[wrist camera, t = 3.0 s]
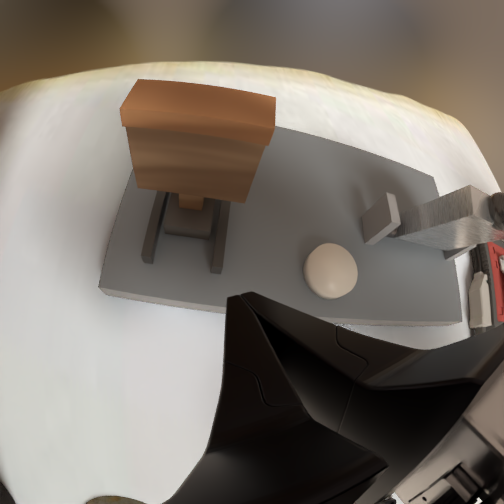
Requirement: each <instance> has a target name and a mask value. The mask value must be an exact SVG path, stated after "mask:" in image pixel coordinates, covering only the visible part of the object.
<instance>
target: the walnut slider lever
mask: <svg viewBox="0 0 504 504" xmlns="http://www.w3.org/2000/svg"><path fill="white" fill-rule="evenodd" d="M275 110H276V97H272V96H267V95H262V94H258V93H253V92H247V91H242V90H236V89H230V88H224V87H218V86H211V85H203V84H195V83H186V82H175V81H162V80H144V79H138V80H137V82H136V83H135V85H134V86H133V88H132V89H131V91H130V92H129V94H128V96H127V97H126V99H125V101H124V102H123V104H122V106H121V107H120V115H121V121H122V126H124V127H126V132H127V137H128V143H129V148H130V154H131V159H132V164H133V169H134V174H135V178H136V183H137V187H138V188H141V189H149V190H156V191H164V192H171V196H170V200H169V204H168V208H167V212H166V216H165V221H164V231H165V234H171V235H178V236H185V237H191V238H198V239H205V240H209V236H210V230H211V223H212V217H213V211H214V204H215V199H219V200H226V201H232V202H238V203H244V204H245V202H246V199H247V196H248V193H249V190H250V187H251V185H252V182H253V179H254V176H255V174H256V171H257V168H258V165H259V162H260V160H261V157H262V154H263V151H264V149H265V146H269V144H270V141H271V138H272V136H273V133H274V130H275Z"/></svg>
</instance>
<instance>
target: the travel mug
mask: <svg viewBox="0 0 504 504" xmlns="http://www.w3.org/2000/svg"><path fill="white" fill-rule="evenodd" d="M0 504H15V502H14V501H13V499H12V497H11V496H10V494H9V493H8V492H7V490H6V489H5V488H4V486H3V485H2V484H1V483H0Z"/></svg>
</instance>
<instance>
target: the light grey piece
mask: <svg viewBox="0 0 504 504" xmlns="http://www.w3.org/2000/svg"><path fill="white" fill-rule="evenodd" d="M399 217H400V223H401V225H399V226H398V227H397V228H395V229H394V230H393V231H392V232H390V233H389V234H388V235H386V236H385V237H389V238H394V239H398V240H403V241H407V242H411V243H416V244H420V245H424V246H428V247H432V248H436V249H440V250H444V251H451V250H452V249H457V248H462V247H467V246H472V245H477V244H481V243H486V242H491V241H496V240H500V239H504V193H501V192H498V193H495V194H493V195H491V196H489V195H488V194H486V193H484V192H482V191H481V190H479V189H477V188H475V187H473V186H471V185H468V186H466V187H464V188H461V189H459V190H456V191H454V192H451V193H449V194H446V195H444V196H442V197H439V198H437V199H434V200H432V201H429V202H427V203H424V204H422V205H419V206H417V207H414V208H412V209H409V210H407V211H404V212H402V213H399Z"/></svg>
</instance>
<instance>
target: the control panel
mask: <svg viewBox="0 0 504 504" xmlns="http://www.w3.org/2000/svg"><path fill="white" fill-rule="evenodd" d="M170 196H171V192H164V191H156V190H149V189H141V188H138V187H137V183H136V178H135V174H134V169H133V170H132V173H131V175H130V178H129V181H128V184H127V187H126V189H125V192H124V195H123V198H122V201H121V204H120V207H119V211H118V214H117V217H116V220H115V224H114V227H113V230H112V234H111V237H110V241H109V245H108V248H107V252H106V256H105V260H104V264H103V268H102V273H101V277H100V281H99V286H98V287H99V288H100V289H101V290H102V291H103V292H104V293H105V294H106V295H109V296H115V297H120V298H125V299H131V300H137V301H142V302H148V303H154V304H160V305H167V306H173V307H180V308H186V309H193V310H201V311H208V312H216V313H224V314H226V302H227V297H230V296H234V295H240V294H242V293H246V292H250V291H253V292H255V293H258V294H260V295H263V296H265V297H267V298H270V299H272V300H275V301H277V302H279V303H282V304H284V305H287V306H289V307H292V308H294V309H297V310H299V311H302V312H304V313H307V314H309V315H312V316H314V317H317V318H319V319H322V320H324V321H327V322H329V323H334V324H354V325H380V326H449V325H452V324H456V323H459V322H462V311H461V302H460V293H459V285H458V279H457V272H456V266H455V261H454V259H455V258H457V257H459V256H461V255H462V254H464V253H466V252H468V251H469V250H471V249H473V248H475V247H476V245H472V246H467V247H462V248H457V249H452V250H451V251H444V250H440V249H436V248H432V247H428V246H424V245H420V244H416V243H411V242H407V241H403V240H398V239H394V238H389V237H385V236H386V235H388V234H389V233H390V232H392V231H393V230H394V229H395V228H397V227H398V226H399V225H401V223H400V217H399V213H402V212H404V211H407V210H409V209H412V208H414V207H417V206H419V205H422V204H424V203H427V202H429V201H432V200H434V199H437V198H439V194H438V190H437V187H436V184H435V181H434V178H433V177H432V176H430V175H427V174H425V173H423V172H420V171H418V170H415V169H413V168H411V167H408V166H405V165H403V164H400V163H398V162H395V161H392V160H390V159H387V158H384V157H381V156H379V155H376V154H373V153H370V152H367V151H364V150H361V149H358V148H355V147H352V146H349V145H345V144H342V143H339V142H335V141H332V140H328V139H325V138H321V137H318V136H314V135H310V134H307V133H303V132H299V131H295V130H290V129H286V128H282V127H278V126H275V130H274V133H273V136H272V138H271V141H270V144H269V146H265V149H264V151H263V154H262V157H261V160H260V162H259V165H258V168H257V171H256V174H255V176H254V179H253V182H252V185H251V187H250V190H249V193H248V196H247V199H246V202H245V204H244V203H238V202H232V201H226V200H219V199H215V204H214V211H213V217H212V223H211V230H210V236H209V240H205V239H198V238H191V237H185V236H178V235H171V234H165V231H164V221H165V216H166V212H167V208H168V204H169V200H170Z"/></svg>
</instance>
